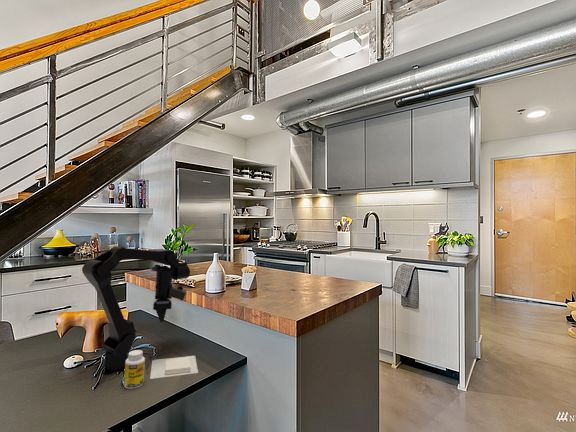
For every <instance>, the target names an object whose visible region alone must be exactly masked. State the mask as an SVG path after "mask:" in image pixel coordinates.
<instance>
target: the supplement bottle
mask: <svg viewBox="0 0 576 432" xmlns="http://www.w3.org/2000/svg"><path fill="white" fill-rule="evenodd" d="M128 353H129V356H128V359H126V361H125V371H124V377H123V378H124V379H123V381H124V382H123V386H124V388H126V389H128V390H129V389H130V390H132V389H133V390H134V389H137V388H139V387H141V386H142V385H143V384H144V382H145V368H146V367H145V366H146V365H145V364H146V363H145V362H146V357H144V356H143V355H144V354H143V350H141V349H135V350H130V352H128Z"/></svg>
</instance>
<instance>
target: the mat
mask: <svg viewBox="0 0 576 432" xmlns="http://www.w3.org/2000/svg"><path fill="white" fill-rule="evenodd" d="M187 357H189V360H190V372H185V373H177V374H169V375H165V363H166V360H168V359H177V358H187ZM193 374H199V370H198V365H197V359H196V355H189V356H180V357H179V356H178V357H170V358H168V357H167V358H161V359H152V361H151V370H150V377H149V379H150V380H151V379H152V380H153V379H154V380H155V379H161V378H168V377H177V376H183V375H193Z"/></svg>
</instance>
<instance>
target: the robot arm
mask: <svg viewBox="0 0 576 432" xmlns="http://www.w3.org/2000/svg"><path fill="white" fill-rule="evenodd" d="M124 259H126V260H139V261H150V262H153V263H157V264H155V265H154V266H152V268H151V269H150V270H151V271H153V272H156V275H155V276H156V277H155V293H154V299H155V301H153V304H152V306H153V307H152V310H153V311H155V313H156V314H157V317H158V319H159V322H160V323H163V322H164V321H165V316H166V313H167V310H171V309H172V307H173V306H172V302H173V301H172V300H171V299H172V298H175V299H177V300H179V301H181V302H182V301H183V302H184V299H185V297H186V295H187V291H186V290H185V289H184V287H183V286H182V285H178V286H177V287H176V286H173V283H172V281H173V280H174V281H178V280H184V279H188V278H189V277H190V274H191V270H190V267H189V266H188V262H186V261H181V262H179V260H178V258H177V257H176V253H175V251H174V250H171V249H164V248H160V249H159V248H157V249H156V248H155V249H149V250H147V249H137V248H129V247H123V246H118V245H117V246H116V245H115V246H113V247H111V248H109V250H106V251H105V252H103V253H101V254H100V255H97V256H96V257H94V258H93V259H89V260H87V261H85V263H84V265H82V267H81V270H82V274H83V276H84V277H85V278H86V279H87V281H88V282H89V283H90V284H91V286H92V287H93V288H94V290H95V291H96V293H97V296H98V299H99V301H100V304H101V306H102V309H103V311H104V314H105V316H106V319H107V321H108V323H109V327H108V335H109V336H108V337H107V338H106V339H105V340H104V341H103V342H102V344H101V346H102V350H104V351H106V352H105V353H104V355H105V356H104V368H103V372H102V373H103V375H107V374H114V373H120V372H121V373H122V372H125V371H124V369H125V361H126V359H128V356H129V352H131V349H132V346H133V343H134V342H135V339H136V337H137V335H136V333H137V330H136V329H135V324H134V322H133V321H130V320H128V319H125V318H124V315H123V312H122V310H121V307H120V304H119V302H118V299H117V296H116V294H115V292H114V289H113V286H112V278H113V277H112V271H113V270H114V269H116V268H117V267H118V266H119V263H121V261H122V260H124ZM161 264H162V265H161Z"/></svg>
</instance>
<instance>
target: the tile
mask: <svg viewBox="0 0 576 432" xmlns="http://www.w3.org/2000/svg"><path fill="white" fill-rule="evenodd" d="M176 358H177V357H176ZM167 359H168V358H167ZM185 372H190V360H189V357H187V358H177V359H168V360H166V363H165V375H169V374H177V373H185Z"/></svg>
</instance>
